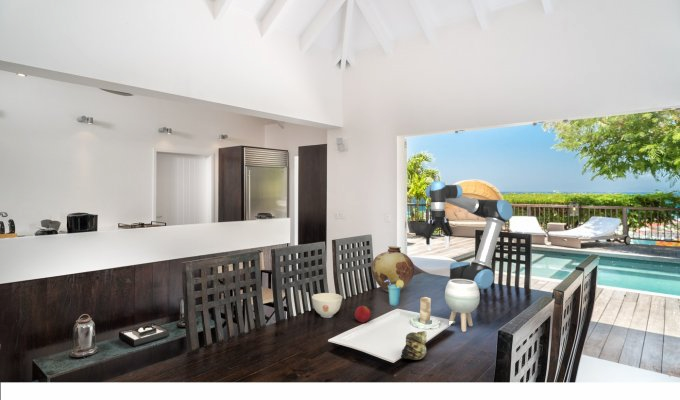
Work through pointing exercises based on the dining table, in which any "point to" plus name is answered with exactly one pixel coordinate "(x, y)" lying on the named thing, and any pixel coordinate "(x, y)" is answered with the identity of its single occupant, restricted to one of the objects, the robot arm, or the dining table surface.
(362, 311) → the apple
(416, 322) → the dish
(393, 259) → the vase
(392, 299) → the cup
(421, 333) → the seashell
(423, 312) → the tan wooden block
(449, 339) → the dining table surface
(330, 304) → the bowl
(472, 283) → the planter
